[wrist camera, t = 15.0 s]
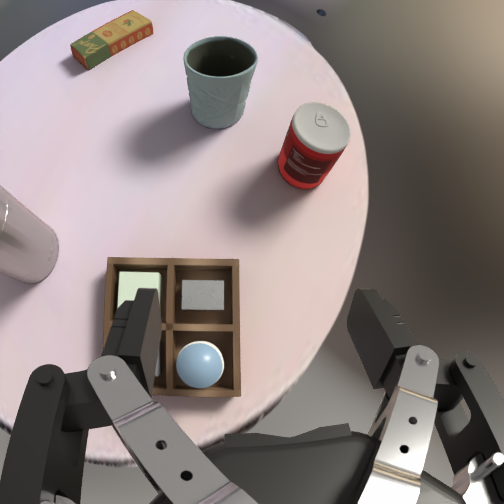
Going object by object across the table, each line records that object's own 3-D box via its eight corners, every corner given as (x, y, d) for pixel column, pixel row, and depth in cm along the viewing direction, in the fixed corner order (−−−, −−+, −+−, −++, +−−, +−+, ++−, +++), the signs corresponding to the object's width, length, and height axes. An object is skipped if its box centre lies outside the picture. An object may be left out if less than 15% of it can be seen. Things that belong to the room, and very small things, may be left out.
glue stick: (184, 378, 37) (174, 389, 28) (183, 340, 39) (174, 340, 29) (222, 379, 38) (224, 390, 29) (222, 341, 39) (224, 341, 30)
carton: (154, 35, 54) (152, 20, 50) (88, 72, 50) (83, 57, 46) (135, 22, 55) (132, 8, 51) (73, 57, 51) (68, 43, 47)
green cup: (182, 130, 47) (177, 76, 36) (191, 86, 50) (190, 33, 39) (247, 134, 48) (256, 81, 37) (249, 90, 51) (258, 38, 40)
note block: (124, 314, 38) (117, 312, 36) (125, 276, 40) (119, 271, 37) (161, 316, 39) (157, 314, 36) (162, 277, 40) (159, 272, 37)
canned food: (314, 143, 49) (336, 99, 39) (332, 186, 48) (361, 147, 37) (269, 150, 48) (284, 104, 37) (286, 195, 46) (306, 155, 36)
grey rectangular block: (183, 311, 40) (181, 309, 37) (184, 283, 40) (182, 280, 38) (223, 311, 40) (224, 309, 38) (223, 284, 41) (223, 280, 39)
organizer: (112, 386, 36) (104, 390, 33) (115, 263, 41) (107, 257, 37) (238, 391, 38) (240, 396, 35) (237, 265, 42) (239, 259, 39)
